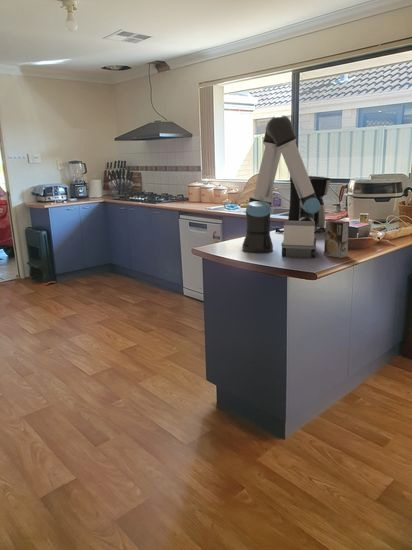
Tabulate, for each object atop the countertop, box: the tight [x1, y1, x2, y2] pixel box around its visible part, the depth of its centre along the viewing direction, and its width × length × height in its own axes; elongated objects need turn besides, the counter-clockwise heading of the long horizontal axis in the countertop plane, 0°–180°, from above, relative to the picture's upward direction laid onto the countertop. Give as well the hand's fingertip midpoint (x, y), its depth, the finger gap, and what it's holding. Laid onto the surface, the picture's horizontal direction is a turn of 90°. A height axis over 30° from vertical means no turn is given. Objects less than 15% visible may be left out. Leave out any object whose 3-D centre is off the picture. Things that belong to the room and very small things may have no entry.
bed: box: [280, 237, 317, 259], centre depth 202 cm, size 15×15×7 cm
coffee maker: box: [275, 175, 331, 233], centre depth 263 cm, size 23×32×34 cm
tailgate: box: [283, 220, 315, 247], centre depth 191 cm, size 13×2×13 cm, turn 76°
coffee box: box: [323, 219, 350, 259], centre depth 199 cm, size 9×6×16 cm
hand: (305, 232), depth 191 cm, fingers closed
